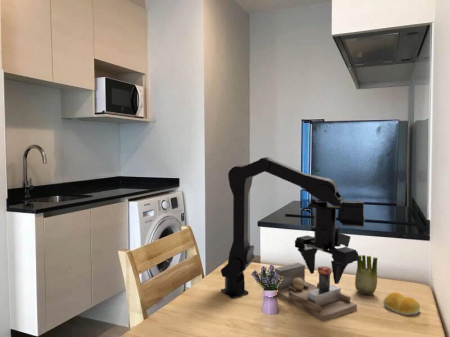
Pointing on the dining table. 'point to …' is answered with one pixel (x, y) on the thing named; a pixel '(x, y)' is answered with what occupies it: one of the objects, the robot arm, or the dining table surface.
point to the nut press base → (300, 296)
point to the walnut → (298, 283)
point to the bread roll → (401, 304)
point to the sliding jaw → (324, 289)
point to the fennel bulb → (366, 275)
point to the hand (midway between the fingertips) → (324, 278)
